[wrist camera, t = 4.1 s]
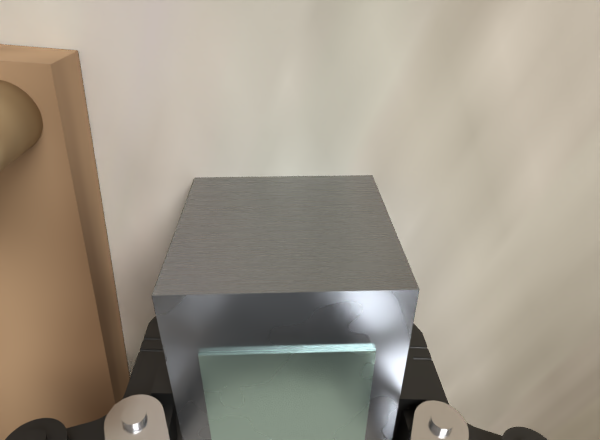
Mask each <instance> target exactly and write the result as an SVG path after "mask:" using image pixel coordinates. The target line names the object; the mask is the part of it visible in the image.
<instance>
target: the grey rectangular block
mask: <svg viewBox="0 0 600 440" xmlns="http://www.w3.org/2000/svg"><path fill="white" fill-rule="evenodd" d="M418 294H419V288H418V285H417V283H416V280H415V278H414V275H413V273H412V271H411V268H410V266H409V263H408V261H407V258H406V256H405V254H404V251H403V249H402V246H401V244H400V241H399V239H398V237H397V234H396V232H395V229H394V227H393V224H392V222H391V220H390V217H389V215H388V212H387V210H386V207H385V205H384V203H383V200H382V198H381V195H380V193H379V190H378V188H377V185H376V183H375V181H374V178H373V176H372V175H365V176H290V177H215V178H195V179H194V182H193V184H192V187H191V190H190V192H189V195H188V198H187V201H186V203H185V206H184V209H183V212H182V214H181V217H180V220H179V222H178V225H177V228H176V231H175V233H174V236H173V239H172V242H171V244H170V247H169V250H168V252H167V255H166V258H165V261H164V263H163V266H162V269H161V272H160V274H159V277H158V280H157V282H156V285H155V288H154V291H153V293H152V299H153V304H154V309H155V313H156V318H157V323H158V327H159V332H160V337H161V341H162V346H163V351H164V355H165V360H166V365H167V369H168V374H169V379H170V383H171V388H172V392H173V397H174V402H175V406H176V411H177V416H178V420H179V425H180V430H181V434H182V439H183V440H392V437H393V431H394V426H395V420H396V415H397V410H398V404H399V399H400V393H401V388H402V382H403V377H404V371H405V366H406V360H407V355H408V349H409V344H410V338H411V333H412V327H413V322H414V316H415V311H416V305H417V300H418Z"/></svg>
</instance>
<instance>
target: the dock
mask: <svg viewBox="0 0 600 440" xmlns="http://www.w3.org/2000/svg"><path fill="white" fill-rule="evenodd" d="M129 380H130V377H129V371H128V364H127V358H126V352H125V345H124V339H123V333H122V326H121V320H120V314H119V307H118V301H117V295H116V288H115V282H114V276H113V270H112V263H111V257H110V251H109V244H108V238H107V232H106V225H105V219H104V213H103V206H102V200H101V194H100V188H99V181H98V175H97V169H96V162H95V156H94V150H93V143H92V137H91V131H90V124H89V118H88V112H87V105H86V99H85V93H84V87H83V80H82V74H81V68H80V61H79V55H78V50H65V49H53V48H40V47H28V46H15V45H3V44H0V440H5V439H6V438H7V437H8V436H9V435H10V434H11V433H12V432H13V431H14V430H15V429H17V428H18V427H19V426H21V425H23V424H25V423H27V422H29V421H32V420H35V419H40V418H53V419H56V420H58V421H60V422H62V423H63V424H64V426H65V427H66V428H69V427H73V426H77V425H80V424H84V423H88V422H91V421H94V420H97V419H99V418H102V417H103V416H105V415H107V414H108V412H109V411H110V409H111V408H112V407H113V406H114V405H115V404H117V403H118V402H119V401H121V400H122V398H123V396H124V394H125V391H126V389H127V386H128V383H129Z"/></svg>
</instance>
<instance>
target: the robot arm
mask: <svg viewBox="0 0 600 440" xmlns="http://www.w3.org/2000/svg"><path fill="white" fill-rule="evenodd" d="M5 440H183V439H182V434H181V430H180V425H179V420H178V416H177V411H176V406H175V402H174V397H173V392H172V388H171V383H170V379H169V374H168V369H167V365H166V360H165V355H164V351H163V346H162V341H161V337H160V332H159V327H158V323H157V318H156V316H155V317H154V319H153V320H152V321H151V322H150V323H149V325H148V328H147V331H146V333H145V336H144V340H143V342H142V345H141V348H140V352H139V354H138V357H137V360H136V362H135V365H134V368H133V371H132V374H131V377H130V380H129V383H128V386H127V389H126V391H125V394H124V396H123V398H122V400H121V401H119V402H118V403H117V404H115V405H114V406H113V407H112V408H111V409H110V411H109V412H108V414H107V415H105V416H103V417H102V418H99V419H97V420H94V421H91V422H88V423H84V424H80V425H77V426H73V427H69V428H66V427H65V426H64V424H63V423H62V422H60V421H58V420H56V419H53V418H40V419H35V420H32V421H29V422H27V423H25V424H23V425H21V426H19V427H18V428H17V429H15V430H14V431H13V432H12V433H11V434H10V435H9V436H8V437H7V438H6V439H5ZM392 440H547V439H546V438H545V437H543V436H542V435H541V434H539V433H537V432H536V431H533V430H531V429H528V428H524V427H513V428H510V429H508V430H507V431H506V432H505V433H504V434H503V436H501V435H498V434H494V433H491V432H488V431H485V430H482V429H479V428H476V427H473V426H471V425H470V424H468V423H466V421H465V419H464V418H463V416H462V415H461V414H460V413H459V412H458V411H457V410H456V409H455V408H453V407H452V406H450V405H449V403H448V401H447V398H446V396H445V393H444V390H443V388H442V385H441V382H440V380H439V377H438V374H437V372H436V369H435V366H434V363H433V361H431V355H430V353H429V350H428V349H427V345H426V342H425V339H424V337H423V334H422V332H421V331H420V330H419V329H418V328H417V327H416V325H415V324H414V323H413V327H412V333H411V338H410V344H409V349H408V355H407V360H406V366H405V371H404V377H403V382H402V388H401V393H400V399H399V404H398V410H397V415H396V420H395V426H394V431H393V437H392Z"/></svg>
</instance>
